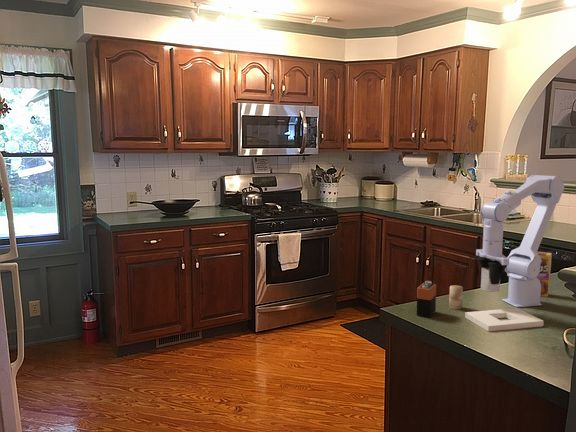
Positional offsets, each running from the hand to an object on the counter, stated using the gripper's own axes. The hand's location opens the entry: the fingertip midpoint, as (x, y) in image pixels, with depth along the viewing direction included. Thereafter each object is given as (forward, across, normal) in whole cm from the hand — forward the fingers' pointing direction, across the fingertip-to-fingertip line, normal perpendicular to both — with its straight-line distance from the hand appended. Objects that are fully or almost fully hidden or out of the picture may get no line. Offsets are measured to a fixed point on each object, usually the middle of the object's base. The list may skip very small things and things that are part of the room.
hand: (490, 282), depth 157 cm
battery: (+10, -2, -21) cm, 23 cm away
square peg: (+3, 0, 0) cm, 3 cm away
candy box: (+10, -12, +26) cm, 30 cm away
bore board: (+9, +10, -2) cm, 14 cm away
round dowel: (+9, -5, -9) cm, 14 cm away
